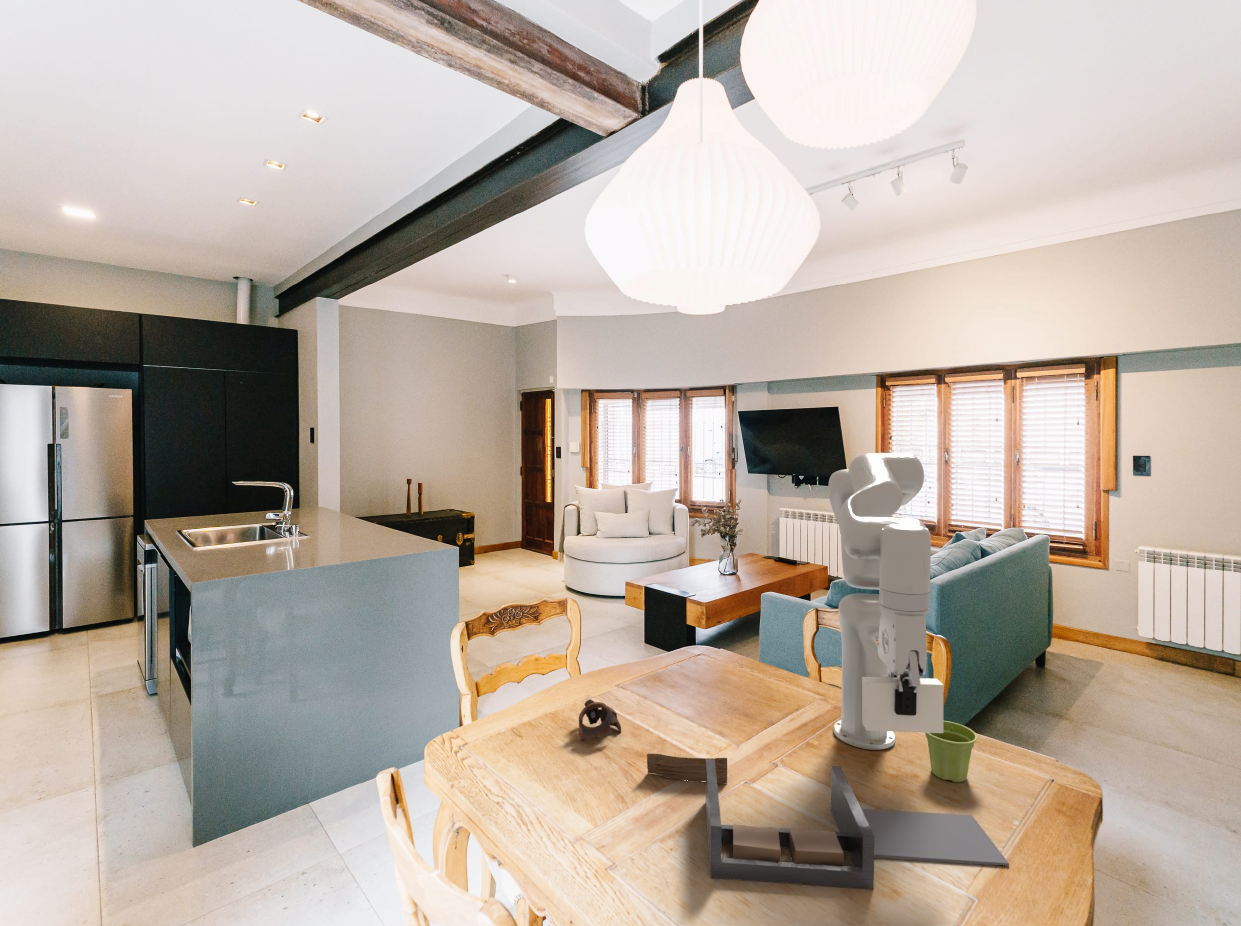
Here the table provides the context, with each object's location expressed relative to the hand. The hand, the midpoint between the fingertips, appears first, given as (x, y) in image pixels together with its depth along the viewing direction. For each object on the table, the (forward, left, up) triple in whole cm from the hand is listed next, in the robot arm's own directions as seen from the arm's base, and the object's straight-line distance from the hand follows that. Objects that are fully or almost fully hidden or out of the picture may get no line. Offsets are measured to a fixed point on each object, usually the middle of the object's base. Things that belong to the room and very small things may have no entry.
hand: (902, 709), depth 100 cm
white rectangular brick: (0, 0, -3) cm, 3 cm away
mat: (+1, +4, -21) cm, 21 cm away
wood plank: (-13, -35, -21) cm, 43 cm away
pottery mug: (-29, -55, -21) cm, 66 cm away
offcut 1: (+9, -25, -21) cm, 34 cm away
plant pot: (-19, +16, -21) cm, 33 cm away
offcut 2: (+9, -16, -21) cm, 28 cm away
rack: (+4, -20, -21) cm, 29 cm away
